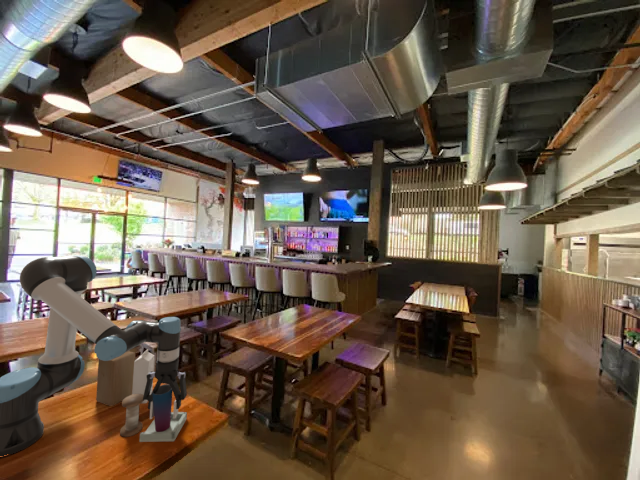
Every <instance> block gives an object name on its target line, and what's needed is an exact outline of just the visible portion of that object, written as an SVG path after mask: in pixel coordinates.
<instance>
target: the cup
mask: <svg viewBox="0 0 640 480" xmlns="http://www.w3.org/2000/svg"><path fill="white" fill-rule="evenodd" d="M152 394H153V406H154V419H155V430H156V431H157V432H163V431H165V430H167V429H168V428H169V427H170V423H171V412H172V403H173V391H172V388H171V386H170V385H169V384H167V383H165V384H161V385H160V387H159V389H158V391H157V392H156V394H154V392H153V390H152ZM154 419H153V420H154Z"/></svg>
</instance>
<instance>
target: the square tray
mask: <svg viewBox="0 0 640 480" xmlns="http://www.w3.org/2000/svg"><path fill="white" fill-rule="evenodd" d="M187 416H188V412H187V411H178V415H177V416H176V418H175V419H173V411H171V423H170V427H169V428H168V429H167V430H165V431H163V432H157V431H156V430H155V419H153V420H152V422H151V423H150V425H149V426H148V427H147V429H146V430H145V431H143V432H142V431H140V432H139V443H143V442H145V443H147V442H150V443H151V442H153V443H155V442H156V443H157V442H175V441H176V438H177V437H178V435H179V434H180V431H181V430H182V428H183V426H184V424H185V423H186V421H187V418H188V417H187Z"/></svg>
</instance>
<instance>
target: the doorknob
mask: <svg viewBox="0 0 640 480" xmlns="http://www.w3.org/2000/svg"><path fill="white" fill-rule="evenodd" d="M143 396H144V395H143V394H133V395H130V396H127V397H126V398H124V399H123V400H122V401H121V406H122V407H123V408H126V409H125V410H126V412H125V424H124V425H123V426H122V427H121V428H120V430H119V435H120V436H121V437H123V438H129V437H133V436H134V435H136V434H137V435H138V433H141V432H142V429H143V422H142V421H140V420H139V415H140V405H141V404H143V403H142V402H143V401H144V400H143Z"/></svg>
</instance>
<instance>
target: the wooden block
mask: <svg viewBox="0 0 640 480" xmlns="http://www.w3.org/2000/svg"><path fill="white" fill-rule="evenodd" d="M135 360H136V352H133V351H130V350H129V351H127V352H125V353H124V354H122V355H121V356H119V357H116V358H114V359H112V360H109V361H103V360H100V359H99V358H98V365H97V377H96V378H97V381H96V382H97V383H96V395H95V396H96V397H95V398H96V402H98V403H101V404H104V405H106V406H109V407H113V406H115V405H117V404H119V403H120V402H122V401H123V399H124V398H126V397H127V396H130V395H132V389H133V373H134V361H135Z"/></svg>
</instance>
